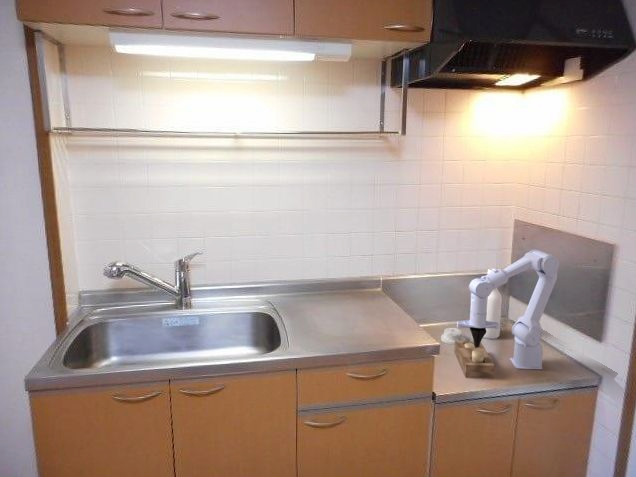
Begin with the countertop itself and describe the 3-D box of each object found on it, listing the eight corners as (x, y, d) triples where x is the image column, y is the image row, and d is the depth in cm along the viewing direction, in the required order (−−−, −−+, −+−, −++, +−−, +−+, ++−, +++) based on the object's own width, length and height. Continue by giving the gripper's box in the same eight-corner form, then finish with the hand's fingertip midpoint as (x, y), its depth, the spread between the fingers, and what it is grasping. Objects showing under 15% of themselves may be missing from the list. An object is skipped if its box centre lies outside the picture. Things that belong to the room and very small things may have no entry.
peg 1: (473, 354, 182) (473, 342, 181) (475, 358, 178) (476, 347, 177) (463, 353, 182) (463, 342, 181) (465, 358, 179) (465, 347, 178)
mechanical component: (468, 339, 197) (446, 333, 203) (469, 329, 196) (447, 324, 202) (459, 347, 189) (437, 341, 196) (459, 337, 188) (437, 331, 195)
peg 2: (481, 361, 170) (482, 350, 169) (484, 367, 166) (485, 355, 165) (470, 361, 170) (471, 349, 169) (473, 366, 166) (473, 354, 165)
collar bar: (479, 352, 184) (480, 341, 183) (493, 378, 164) (494, 365, 163) (454, 352, 185) (454, 340, 184) (465, 377, 165) (466, 364, 164)
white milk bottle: (484, 329, 206) (487, 265, 199) (503, 335, 199) (507, 269, 193) (474, 335, 200) (477, 269, 193) (493, 341, 194) (497, 273, 187)
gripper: (496, 307, 169) (493, 341, 172) (455, 307, 171) (454, 340, 174) (501, 315, 162) (499, 350, 165) (459, 314, 164) (458, 349, 167)
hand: (476, 346), depth 169 cm, fingers closed
